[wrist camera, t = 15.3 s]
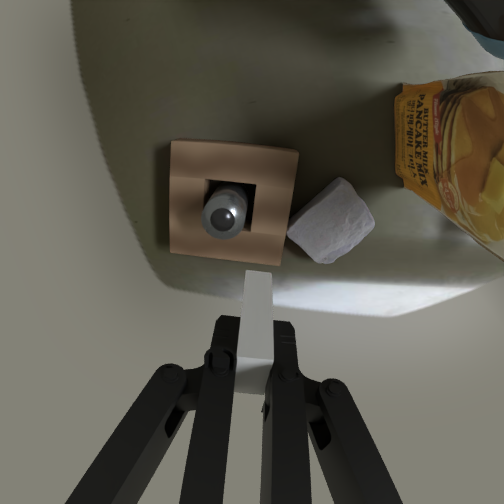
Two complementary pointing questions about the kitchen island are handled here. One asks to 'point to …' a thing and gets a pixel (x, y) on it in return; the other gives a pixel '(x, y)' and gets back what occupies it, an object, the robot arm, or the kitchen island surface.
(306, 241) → the stone block
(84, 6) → the kitchen island surface
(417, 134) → the pancake mix bag
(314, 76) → the kitchen island surface
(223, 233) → the cylinder
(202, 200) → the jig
